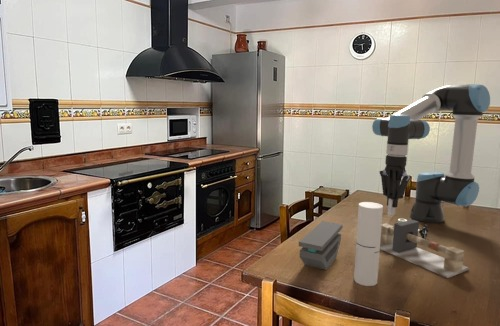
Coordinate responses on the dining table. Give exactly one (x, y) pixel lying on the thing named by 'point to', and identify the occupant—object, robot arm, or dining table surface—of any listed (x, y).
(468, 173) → the robot arm
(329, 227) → the grey grooved block
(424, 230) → the valve
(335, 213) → the dining table surface
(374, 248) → the cylindrical container
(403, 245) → the collar
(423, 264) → the rail
